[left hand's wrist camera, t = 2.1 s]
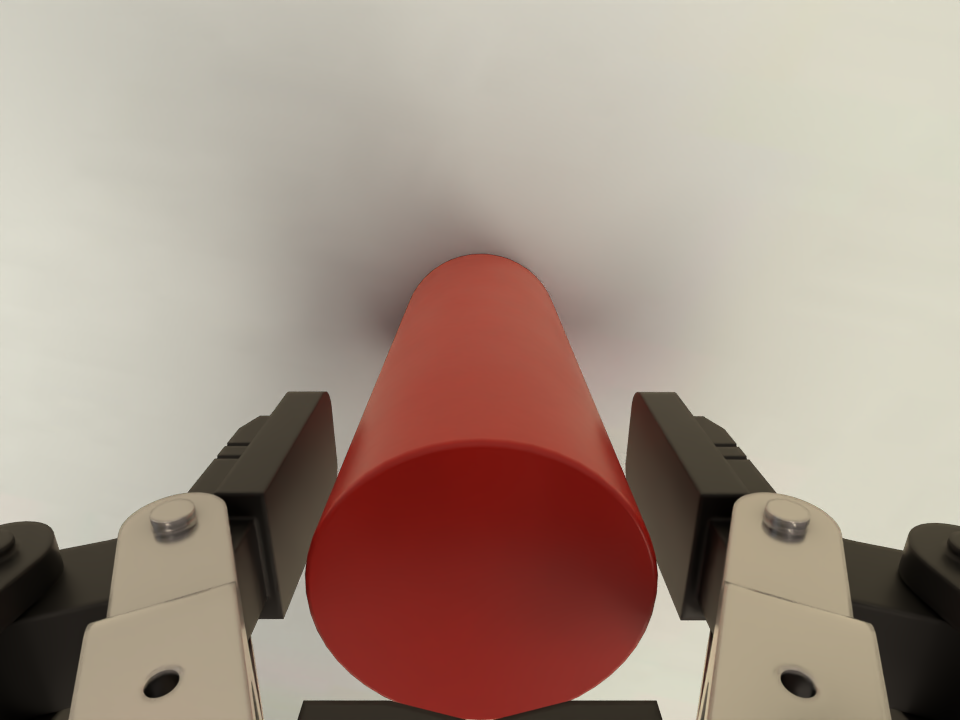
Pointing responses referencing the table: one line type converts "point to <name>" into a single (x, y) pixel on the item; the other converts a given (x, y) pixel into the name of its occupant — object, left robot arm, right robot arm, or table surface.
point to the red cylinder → (481, 512)
